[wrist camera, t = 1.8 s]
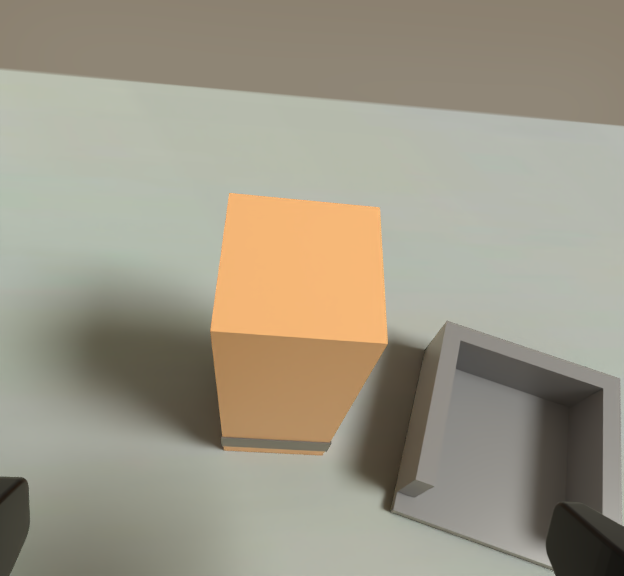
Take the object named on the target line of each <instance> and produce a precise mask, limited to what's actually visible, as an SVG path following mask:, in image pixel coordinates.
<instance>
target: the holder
mask: <svg viewBox="0 0 624 576" xmlns="http://www.w3.org/2000/svg"><path fill="white" fill-rule="evenodd" d="M561 501H562V502H580V503H583V504H585V505H587V506H588V507H590V508H592V509H594V510H595V511H597V512H599V513H601V514H603V515H604V516H606V517H608V518H610V519H611V520H613V521H615V522H617V523H618V524H620V525H622V488H621V409H620V378H617V377H614V376H611V375H608V374H605V373H602V372H599V371H596V370H593V369H590V368H587V367H584V366H581V365H578V364H575V363H572V362H569V361H566V360H563V359H560V358H557V357H554V356H551V355H548V354H545V353H542V352H539V351H536V350H533V349H530V348H527V347H524V346H521V345H518V344H515V343H512V342H509V341H506V340H503V339H500V338H497V337H494V336H491V335H488V334H485V333H482V332H479V331H476V330H473V329H470V328H467V327H464V326H461V325H458V324H455V323H452V322H449V321H446V323H445V324H444V325H443V327H442V328H441V329H440V331H439V332H438V333H437V335H436V336H435V337H434V339H433V340H432V341H431V343H430V344H429V345H428V347H427V348H426V349H425V352H424V357H423V362H422V366H421V371H420V375H419V380H418V385H417V389H416V394H415V399H414V403H413V408H412V413H411V417H410V422H409V427H408V431H407V436H406V440H405V445H404V450H403V454H402V459H401V464H400V468H399V473H398V478H397V482H396V487H395V492H394V496H393V501H392V506H391V510H390V512H392V513H395V514H398V515H401V516H403V517H406V518H409V519H412V520H415V521H417V522H420V523H423V524H426V525H429V526H431V527H434V528H437V529H440V530H443V531H445V532H448V533H451V534H454V535H456V536H459V537H462V538H465V539H468V540H470V541H473V542H476V543H479V544H482V545H484V546H487V547H490V548H493V549H496V550H498V551H501V552H504V553H507V554H509V555H512V556H515V557H518V558H521V559H523V560H526V561H529V562H532V563H535V564H537V565H540V566H543V567H546V568H548V569H551V570H553V568H552V566H551V563H550V561H549V558H548V556H547V552H546V537H547V533H548V529H549V525H550V521H551V517H552V513H553V509H554V506H555V505H556V504H557V503H559V502H561Z"/></svg>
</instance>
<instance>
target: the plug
mask: <svg viewBox="0 0 624 576" xmlns="http://www.w3.org/2000/svg"><path fill="white" fill-rule="evenodd" d="M210 333H211V342H212V350H213V359H214V368H215V376H216V385H217V394H218V402H219V411H220V420H221V429H222V433H221V443H222V446H224V450H225V451H245V452H265V453H284V454H304V455H323V453H324V452H325V451H326V452H327V450H328V448H329V447H330V445H331V440H332V438H333V436H334V435H335V433H336V431H337V430H338V428H339V426H340V424H341V423H342V421H343V419H344V418H345V416H346V414H347V412H348V411H349V409H350V407H351V406H352V404H353V402H354V401H355V399H356V397H357V395H358V394H359V392H360V390H361V389H362V387H363V385H364V384H365V382H366V380H367V378H368V377H369V375H370V373H371V372H372V370H373V368H374V366H375V365H376V363H377V361H378V360H379V358H380V356H381V355H382V353H383V351H384V349H385V348H386V346H387V344H388V339H387V322H386V305H385V288H384V271H383V254H382V237H381V220H380V207H370V206H359V205H349V204H338V203H328V202H317V201H307V200H297V199H286V198H276V197H265V196H255V195H244V194H234V193H229V199H228V206H227V214H226V221H225V228H224V235H223V243H222V250H221V257H220V264H219V272H218V279H217V286H216V293H215V301H214V308H213V315H212V322H211V330H210Z"/></svg>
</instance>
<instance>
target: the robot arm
mask: <svg viewBox="0 0 624 576" xmlns="http://www.w3.org/2000/svg"><path fill="white" fill-rule="evenodd" d="M29 525H30V510H29V487H28V483H27V480H26V479H24V478H22V477H0V576H9V575H10V573H11V571H12V569H13V566H14V564H15V562H16V560H17V557H18V555H19V553H20V551H21V548H22V546H23V544H24V542H25V539H26V537H27V534H28V531H29ZM546 552H547V556H548V558H549V561H550V563H551V566H552V568H553V571H554V573H555V575H556V576H624V526H622V525H620V524H618V523H617V522H615V521H613V520H611V519H610V518H608V517H606V516H604V515H603V514H601V513H599V512H597V511H595V510H594V509H592V508H590V507H588V506H587V505H585V504H583V503H580V502H562V501H561V502H559V503H557V504H556V505H555V506H554V509H553V513H552V517H551V521H550V525H549V529H548V533H547V537H546Z"/></svg>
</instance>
